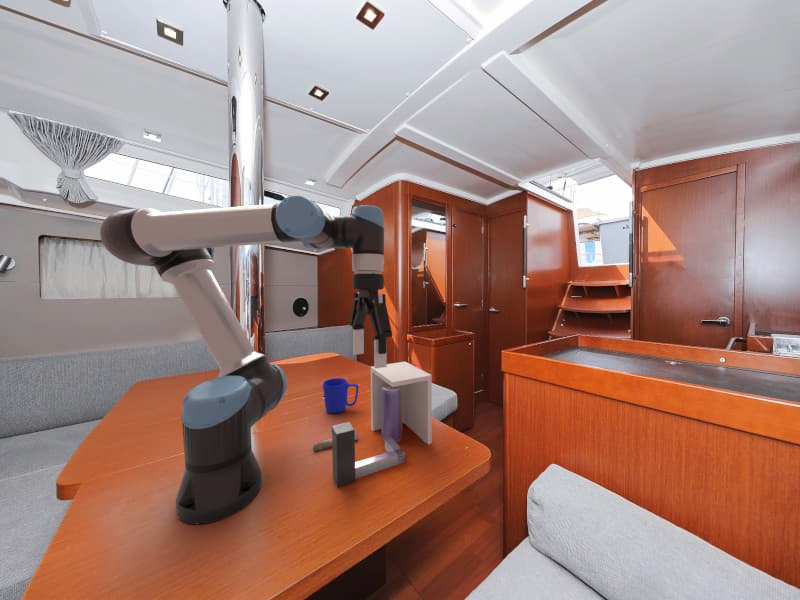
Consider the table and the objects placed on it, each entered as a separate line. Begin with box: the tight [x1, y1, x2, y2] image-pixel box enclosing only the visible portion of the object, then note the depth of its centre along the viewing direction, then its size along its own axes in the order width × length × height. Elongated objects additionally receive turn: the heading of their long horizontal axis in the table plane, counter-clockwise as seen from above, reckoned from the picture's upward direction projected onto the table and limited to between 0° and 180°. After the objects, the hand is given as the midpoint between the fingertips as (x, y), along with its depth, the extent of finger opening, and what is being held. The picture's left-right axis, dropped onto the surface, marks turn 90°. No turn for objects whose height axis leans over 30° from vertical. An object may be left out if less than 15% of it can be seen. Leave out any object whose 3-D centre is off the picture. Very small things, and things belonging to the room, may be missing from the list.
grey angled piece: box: [331, 421, 406, 489], centre depth 68 cm, size 17×8×12 cm, turn 117°
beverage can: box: [380, 383, 403, 443], centre depth 80 cm, size 6×6×15 cm
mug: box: [322, 377, 359, 414], centre depth 98 cm, size 8×12×10 cm
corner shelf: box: [370, 361, 433, 446], centre depth 81 cm, size 12×15×19 cm
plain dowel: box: [312, 432, 359, 452], centre depth 78 cm, size 12×2×2 cm
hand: (368, 360), depth 70 cm, fingers open, 13 cm apart
